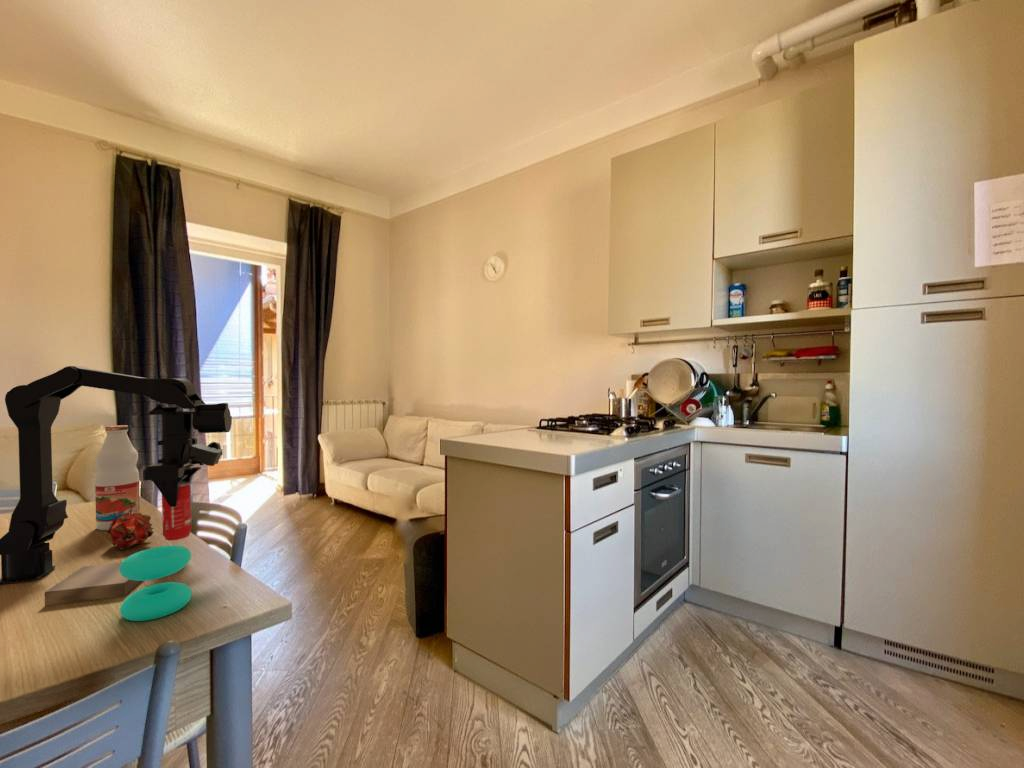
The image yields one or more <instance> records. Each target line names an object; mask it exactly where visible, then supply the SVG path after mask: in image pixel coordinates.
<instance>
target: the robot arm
mask: <svg viewBox="0 0 1024 768" xmlns="http://www.w3.org/2000/svg"><path fill="white" fill-rule="evenodd" d="M81 387H88V388H94V389H101V390H108V391H114V392H121V393H128V394H135V395H138V396H142V397H144V398H147V399H150V400H152V401H156V402H159V403H158V404H157V405H156V406H155V407H154V408H153V409H152V410H149V411H148V415H149V416H155V415H156V416H157V415H158V416H160V439H159V440H157V446H161V448H160V450H161V451H160V452H161V453H160V454H161V455H160V456H161V457H160V458H158V459H157V463H153V464H150V465H147V467H146V468H144V469H143V471H142V479H143V481H151V482H153V484H154V485H155V486H156V488H157V489H158V491H159V492H160V493H161V496H162V495H163V497H164V498H165V500H166V501H167V503H168V504H169V506H170V507H175V506H176V505H177V500H178V494H179V487H180V482H189V485H190V486H191V483H192V479H193V477H194V475H195V474H196V473H198V471H200V470H201V469H202V466H204V465H206V466H208V467H214V466H215V465H217V464H219V461H220V459H221V457H222V455H223V454H224V453H223V449H221V444H220V443H219V442H216V441H212V442H210V443H209V444H207V445H206V444H201V443H198V438H196V436H193V429H194V430H195V431H197V432H198V433H199V434H216V433H217V434H218V433H229V432H230V431H231V430H232V429H231V428H232V423H233V421H232V420H233V419H232V415H231V411H230V408H229V403H228V402H220V403H205V401H204V400H203V399H202V398H201V397H200V396H199V395H198V394H197V392H196V388H195V385H194V384H193V382H192V381H191V380H189V379H186V378H165V377H164V378H163V377H162V378H161V377H159V378H157V377H156V378H155V377H153V378H151V377H150V378H149V377H143V376H135V375H132V374H131V375H129V374H124V373H117V372H112V371H104V370H99V369H92V368H88V367H85V366H79V365H78V366H77V365H75V366H74V365H68V366H64V367H62V368H60V369H58V370H57V371H56V372H54V373H52V374H49V375H46V376H44V377H42V378H39V379H35V380H34V381H33V380H32V382H31V381H30V382H29V383H28V384H22V385H16V386H14V387H13V388H11V389H10V390H9V391H7V392H6V394H5V397H4V402H5V406H6V411H7V414H8V416H9V418H10V420H11V422H12V423H13V424H14V425H15V427H16V428H17V431H18V434H17V436H18V467H19V469H18V470H19V473H18V474H19V476H18V477H19V500H18V502H17V504H16V505H15V507H14V509H13V511H12V513H11V517H10V521H9V527H8V532H6V533H5V534H4V535H3V536H2V537H0V563H1V564H0V565H1V566H0V567H1V569H0V570H1V572H0V573H1V578H0V585H4V584H12V583H21V582H31V581H37V580H38V579H40V578H41V577H43V576H44V575H46V574H48V573H50V572H51V571H53V570H54V569H55V568H56V566H55V565H53V550H52V549H50V542H49V541H51V540H52V539H54V536H55V534H56V532H57V531H58V530H60V529H61V528H62V527H63V526H64V523H65V520H66V519H68V518H69V516H68V514H67V504H68V503H67V501H68V500H67V499H62V500H58V499H57V497H56V495H55V494H54V492H53V491H54V490H53V456H52V455H53V452H52V450H53V449H52V425H53V424H54V422H55V420H56V418H57V417H58V414H59V411H60V407H61V401H62V400H64V399H65V398H67V397H69V396H71V395H72V394H73V393H75V392H76V391H77V390H78V389H79V388H81ZM165 404H166V405H176V406H166V405H165ZM187 409H188V410H187ZM190 409H191V410H190ZM193 409H194V410H193ZM195 465H199V466H197V467H195Z"/></svg>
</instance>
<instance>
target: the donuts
mask: <svg viewBox="0 0 1024 768" xmlns="http://www.w3.org/2000/svg"><path fill="white" fill-rule="evenodd" d="M191 558H192V552H191V550H190V549H189V548H187V547H186V546H183V545H175V544H174V545H171V544H170V545H164V546H163V545H162V546H155V547H152V548H147V549H144V550H141V551H137V552H134V553H133V554H131V555H129V556H127V557H125V559H124V560H123V561H122V563H121V565H120V568H119V570H120V573H121V575H122V576H123V577H125V578H127V579H130V580H136V581H141V582H142V581H152V580H157V579H161V578H165V577H168V576H170V575H173V574H176V573H177V572H179V571H181V570H182V569H184V568H185V567H186V566H187V565H188V564H189V562H190V561H191ZM192 593H193V592H192V590H191V587H190V586H189V585H187V584H185V583H182V582H178V581H167V582H166V581H165V582H159V583H155V584H152V585H148V586H146V587H143V588H140V589H138V590H136V591H134V592H133V593H131V594H130V595H129V596H127V597H126V598H125V599H124V601H123V602H122V603H121V605H120V608H119V612H120V615H121V617H122V618H124V619H125V620H128V621H130V622H131V621H133V622H143V621H145V622H146V621H152V620H157V619H160V618H163V617H166V616H169V615H172V614H173V613H176V612H178V611H179V610H181V609H183V608H184V607H185V606H187V604H188V603H189V602H190V600H191V598H192V595H193V594H192Z"/></svg>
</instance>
